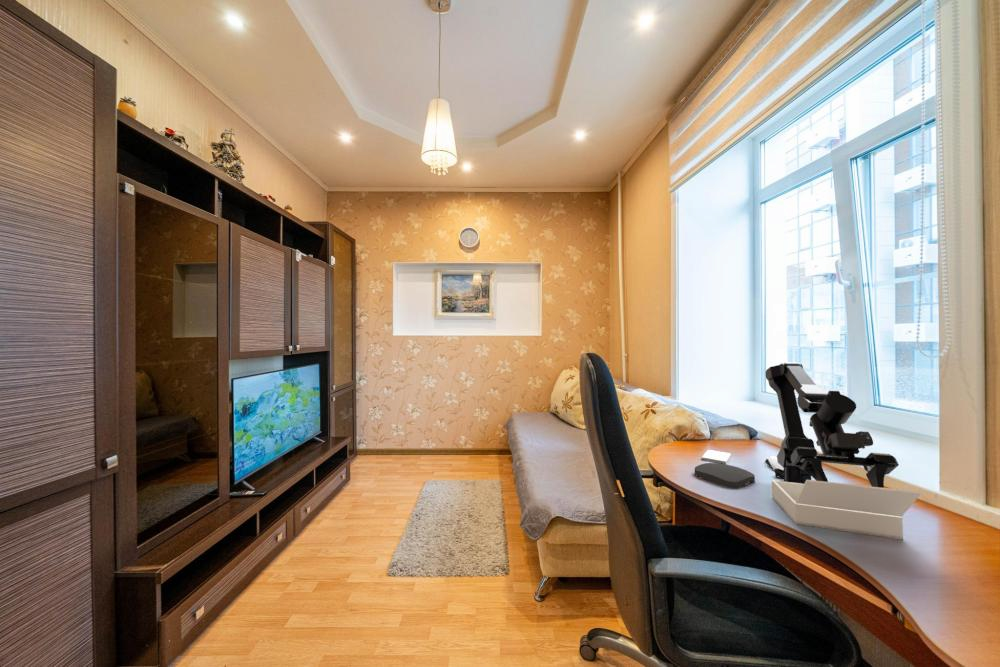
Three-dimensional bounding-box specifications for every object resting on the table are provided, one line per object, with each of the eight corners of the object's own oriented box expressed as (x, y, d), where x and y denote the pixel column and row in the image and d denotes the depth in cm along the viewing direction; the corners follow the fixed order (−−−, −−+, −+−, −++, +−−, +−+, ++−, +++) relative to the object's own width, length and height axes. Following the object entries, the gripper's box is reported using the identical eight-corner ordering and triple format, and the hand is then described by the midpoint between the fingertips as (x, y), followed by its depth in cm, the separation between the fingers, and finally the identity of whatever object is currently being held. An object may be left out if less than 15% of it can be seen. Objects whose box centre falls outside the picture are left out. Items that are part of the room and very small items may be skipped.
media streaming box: (689, 475, 121) (689, 466, 121) (715, 467, 128) (714, 459, 128) (734, 491, 108) (734, 481, 108) (759, 482, 115) (759, 472, 115)
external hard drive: (701, 461, 136) (707, 453, 145) (726, 465, 130) (731, 457, 140) (701, 457, 136) (707, 449, 145) (726, 461, 131) (731, 453, 140)
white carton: (772, 497, 103) (771, 480, 103) (861, 508, 96) (860, 490, 96) (795, 524, 88) (795, 503, 88) (903, 539, 81) (902, 517, 81)
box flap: (795, 501, 88) (806, 479, 82) (900, 515, 81) (920, 491, 75) (796, 503, 88) (807, 481, 82) (901, 516, 81) (921, 493, 75)
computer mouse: (785, 464, 132) (785, 453, 132) (813, 482, 114) (812, 470, 114) (754, 461, 135) (754, 451, 135) (776, 479, 117) (776, 467, 117)
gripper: (794, 415, 89) (816, 475, 79) (892, 420, 82) (930, 487, 72) (782, 436, 97) (801, 494, 86) (872, 443, 90) (903, 507, 80)
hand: (855, 495), depth 81 cm, fingers open, 9 cm apart
